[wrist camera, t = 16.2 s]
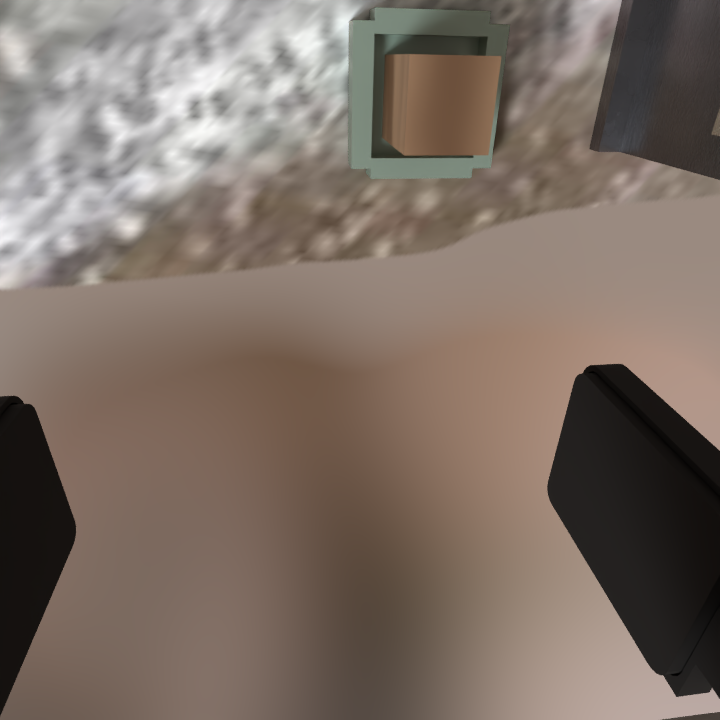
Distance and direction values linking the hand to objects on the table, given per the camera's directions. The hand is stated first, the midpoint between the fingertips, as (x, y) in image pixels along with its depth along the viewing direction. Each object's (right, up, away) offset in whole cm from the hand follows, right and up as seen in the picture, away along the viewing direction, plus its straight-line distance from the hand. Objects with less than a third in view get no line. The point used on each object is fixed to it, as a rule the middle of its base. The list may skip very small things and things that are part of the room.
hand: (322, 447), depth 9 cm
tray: (+4, +18, +23) cm, 30 cm away
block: (+4, +18, +23) cm, 29 cm away
